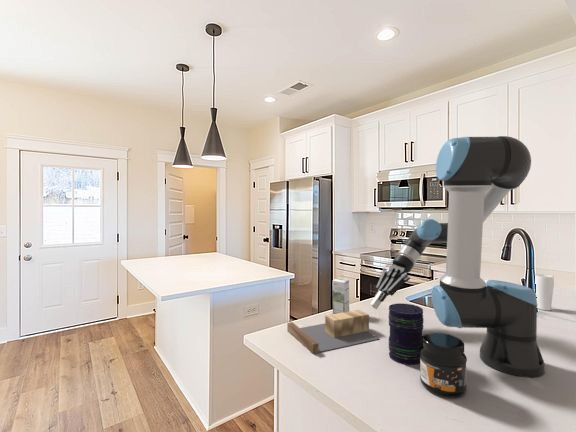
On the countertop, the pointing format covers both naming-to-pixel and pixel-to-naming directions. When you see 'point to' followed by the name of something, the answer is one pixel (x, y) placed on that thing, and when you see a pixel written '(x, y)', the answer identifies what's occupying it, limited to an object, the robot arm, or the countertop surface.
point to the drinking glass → (544, 291)
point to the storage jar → (405, 333)
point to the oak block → (346, 323)
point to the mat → (333, 343)
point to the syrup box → (340, 295)
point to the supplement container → (443, 364)
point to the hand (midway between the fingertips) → (373, 306)
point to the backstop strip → (303, 338)
